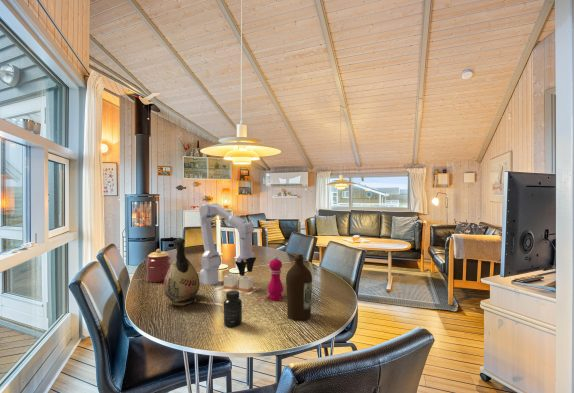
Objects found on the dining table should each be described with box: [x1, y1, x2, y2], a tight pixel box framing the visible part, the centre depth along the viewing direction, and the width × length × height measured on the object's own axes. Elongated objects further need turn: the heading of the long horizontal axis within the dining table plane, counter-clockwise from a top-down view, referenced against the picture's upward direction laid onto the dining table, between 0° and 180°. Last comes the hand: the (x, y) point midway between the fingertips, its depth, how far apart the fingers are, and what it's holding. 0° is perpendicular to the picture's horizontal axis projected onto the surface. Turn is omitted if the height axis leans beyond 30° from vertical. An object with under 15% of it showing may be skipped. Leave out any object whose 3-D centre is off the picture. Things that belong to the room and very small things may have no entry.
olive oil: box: [285, 253, 313, 322], centre depth 119 cm, size 11×11×25 cm
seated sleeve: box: [223, 273, 239, 289], centre depth 151 cm, size 5×5×6 cm
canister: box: [145, 248, 172, 283], centre depth 170 cm, size 13×13×18 cm
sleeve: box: [238, 275, 254, 292], centre depth 147 cm, size 5×5×6 cm
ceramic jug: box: [163, 237, 201, 306], centre depth 133 cm, size 17×15×30 cm
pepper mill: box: [267, 256, 284, 302], centre depth 139 cm, size 7×7×20 cm
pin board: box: [214, 284, 261, 296], centre depth 149 cm, size 20×12×6 cm, turn 68°
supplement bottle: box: [223, 291, 243, 328], centre depth 112 cm, size 7×7×12 cm
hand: (245, 273), depth 148 cm, fingers open, 7 cm apart
